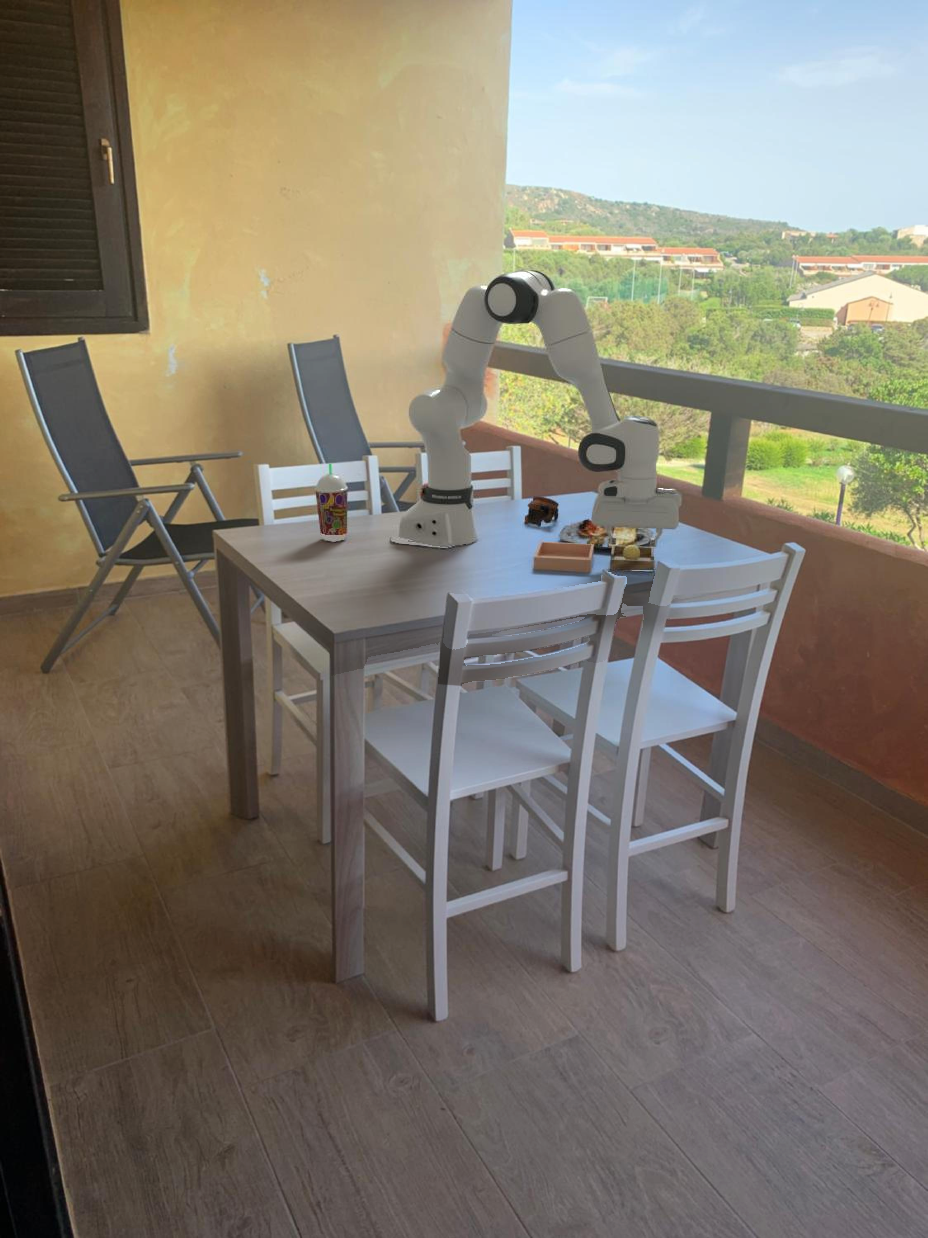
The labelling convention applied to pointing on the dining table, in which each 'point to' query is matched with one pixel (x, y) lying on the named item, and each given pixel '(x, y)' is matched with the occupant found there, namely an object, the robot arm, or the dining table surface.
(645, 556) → the tray
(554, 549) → the dish
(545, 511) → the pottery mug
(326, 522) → the smoothie
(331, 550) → the dining table surface
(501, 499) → the dining table surface
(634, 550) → the ball
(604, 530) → the food plate
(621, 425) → the robot arm
